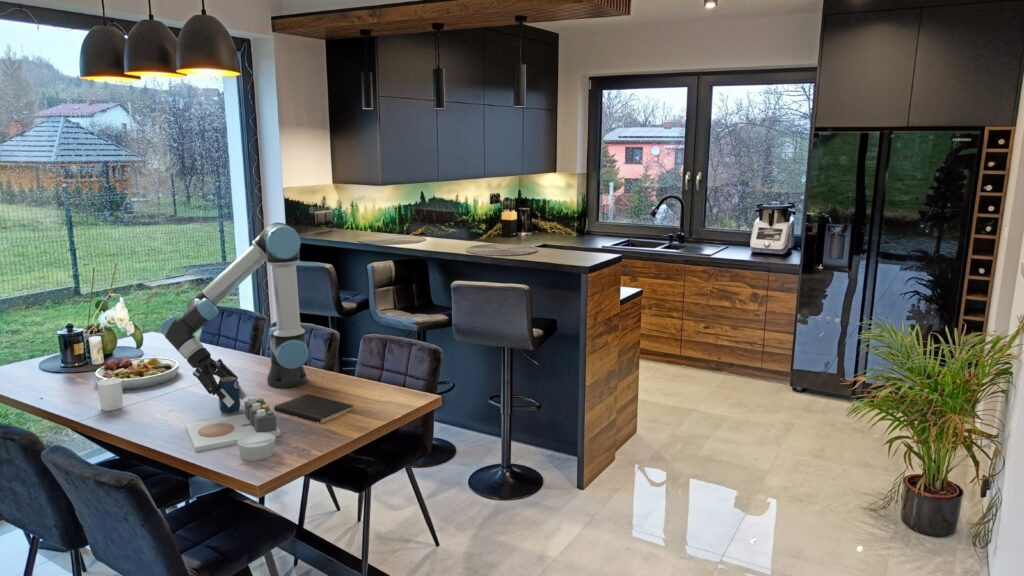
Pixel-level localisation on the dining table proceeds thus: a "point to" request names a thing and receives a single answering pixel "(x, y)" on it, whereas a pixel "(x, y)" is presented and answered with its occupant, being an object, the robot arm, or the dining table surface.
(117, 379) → the white cup
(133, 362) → the bowl
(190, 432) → the breaker board
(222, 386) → the soda can
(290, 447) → the dining table surface
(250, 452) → the ramekin
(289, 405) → the hardcover book
